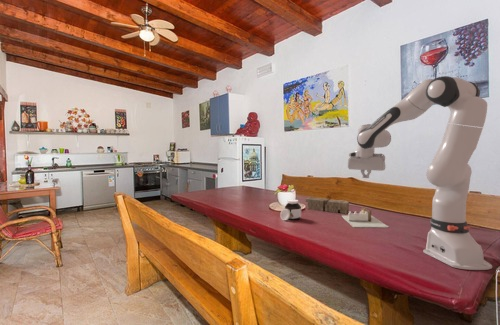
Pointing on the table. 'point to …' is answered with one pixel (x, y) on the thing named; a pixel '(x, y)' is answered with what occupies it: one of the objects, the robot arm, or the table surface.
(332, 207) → the grey stone bar
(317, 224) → the table surface
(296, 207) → the spread jar
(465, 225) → the robot arm
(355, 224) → the card
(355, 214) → the fence gate
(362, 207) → the fence fixed
